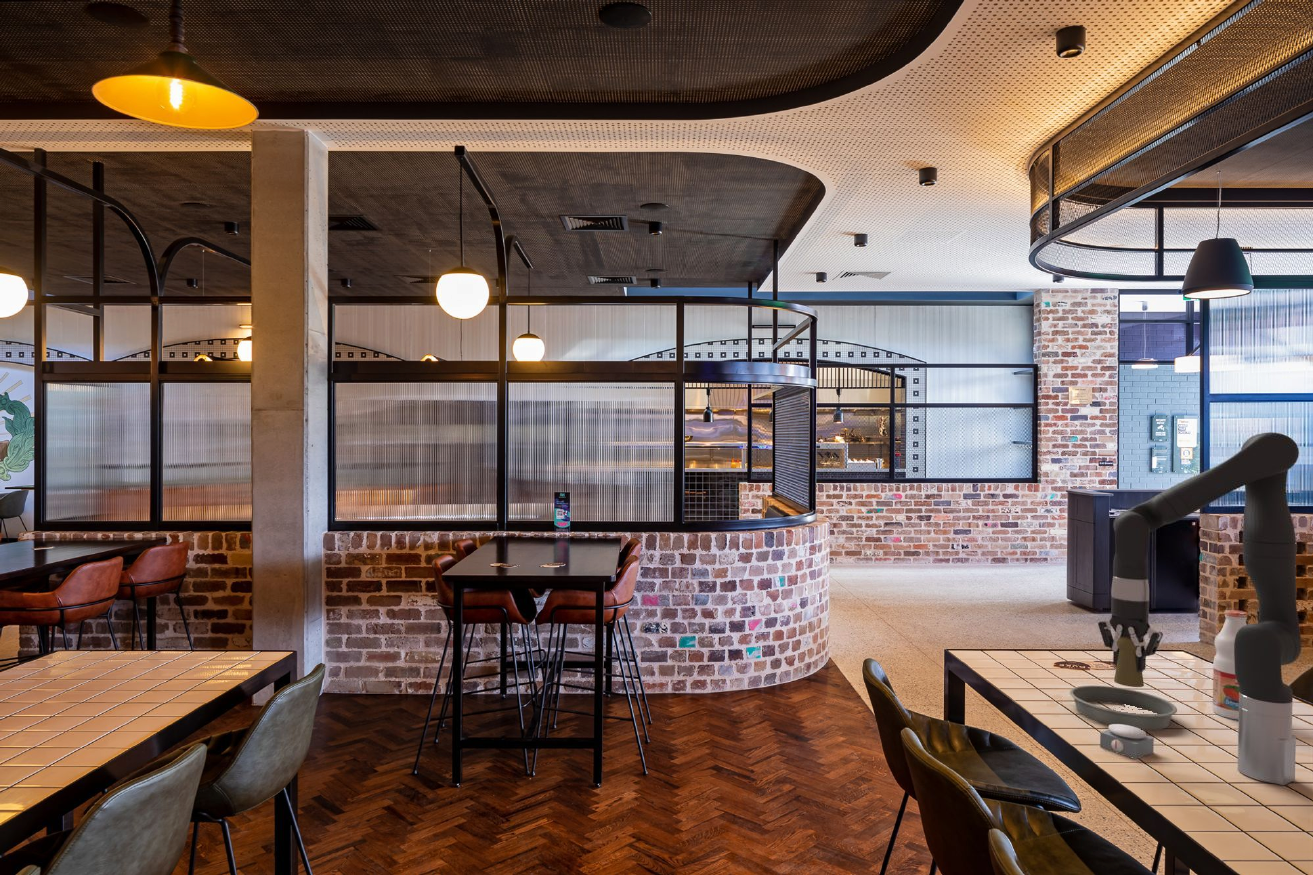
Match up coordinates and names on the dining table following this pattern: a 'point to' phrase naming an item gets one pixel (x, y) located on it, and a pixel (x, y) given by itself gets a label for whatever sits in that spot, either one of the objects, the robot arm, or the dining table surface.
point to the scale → (1127, 740)
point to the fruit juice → (1227, 667)
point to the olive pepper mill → (1127, 664)
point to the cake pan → (1117, 717)
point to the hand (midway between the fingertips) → (1128, 669)
